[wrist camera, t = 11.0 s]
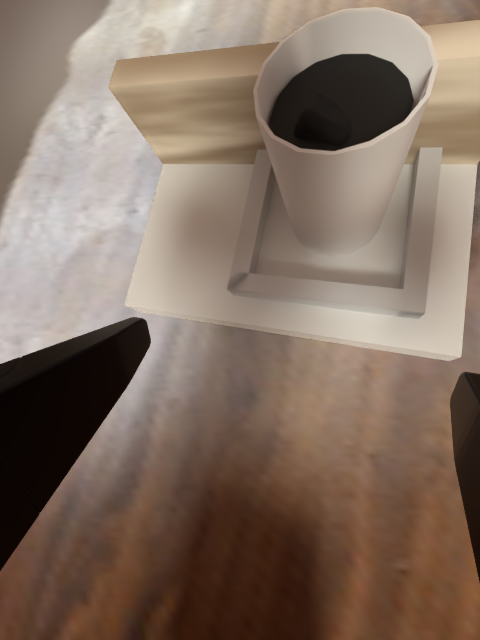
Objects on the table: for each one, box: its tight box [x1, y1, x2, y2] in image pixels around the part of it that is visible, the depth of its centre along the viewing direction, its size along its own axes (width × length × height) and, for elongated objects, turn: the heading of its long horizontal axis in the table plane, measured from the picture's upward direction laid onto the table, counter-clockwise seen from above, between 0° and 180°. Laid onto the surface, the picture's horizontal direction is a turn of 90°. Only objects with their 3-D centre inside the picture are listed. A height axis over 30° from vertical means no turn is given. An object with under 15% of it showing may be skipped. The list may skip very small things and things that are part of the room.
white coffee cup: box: [253, 7, 438, 257], centre depth 17 cm, size 7×7×10 cm
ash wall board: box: [108, 20, 480, 164], centre depth 21 cm, size 2×22×9 cm, turn 78°
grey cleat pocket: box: [125, 147, 477, 361], centre depth 23 cm, size 12×22×4 cm, turn 78°
